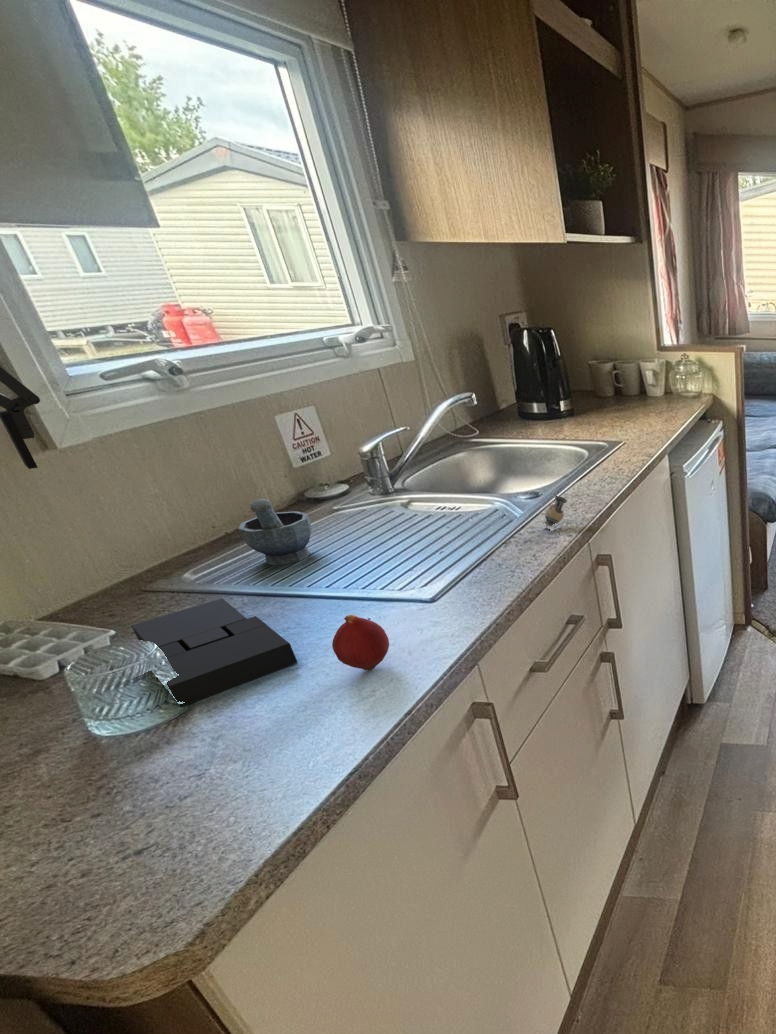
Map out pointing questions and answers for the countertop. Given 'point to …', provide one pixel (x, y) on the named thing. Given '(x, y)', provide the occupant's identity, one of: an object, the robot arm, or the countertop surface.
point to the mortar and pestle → (277, 533)
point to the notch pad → (227, 660)
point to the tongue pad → (190, 625)
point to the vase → (554, 511)
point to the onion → (360, 643)
